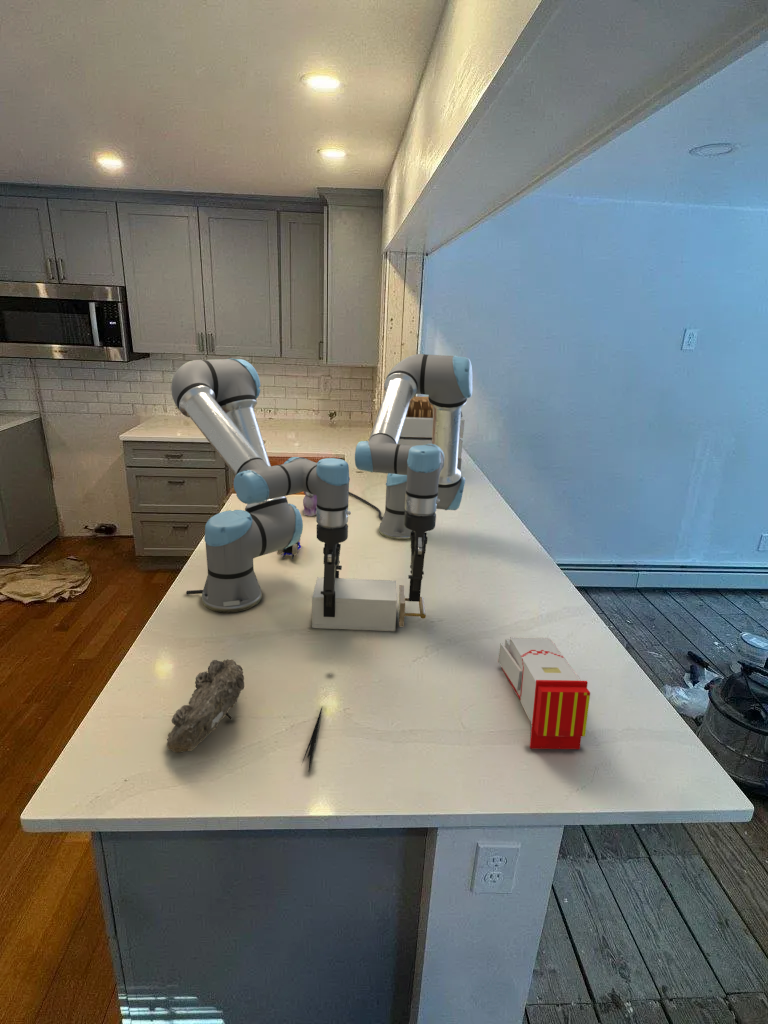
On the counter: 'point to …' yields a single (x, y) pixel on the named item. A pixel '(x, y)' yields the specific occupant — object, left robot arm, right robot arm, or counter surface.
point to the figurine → (309, 504)
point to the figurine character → (290, 550)
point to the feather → (313, 740)
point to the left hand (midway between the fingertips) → (331, 604)
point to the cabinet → (357, 605)
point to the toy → (546, 691)
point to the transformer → (423, 425)
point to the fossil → (206, 705)
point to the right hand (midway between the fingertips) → (414, 600)
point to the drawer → (402, 607)
